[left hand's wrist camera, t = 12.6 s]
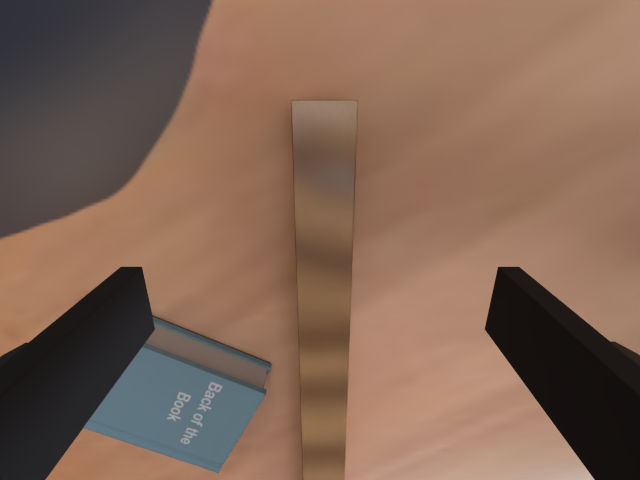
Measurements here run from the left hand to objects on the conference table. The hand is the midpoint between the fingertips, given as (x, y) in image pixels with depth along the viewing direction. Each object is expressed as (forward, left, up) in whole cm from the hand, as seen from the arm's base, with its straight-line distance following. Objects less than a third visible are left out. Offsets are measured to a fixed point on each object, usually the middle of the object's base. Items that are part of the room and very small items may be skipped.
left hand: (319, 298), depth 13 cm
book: (-16, +29, -24) cm, 41 cm away
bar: (-29, +12, -24) cm, 39 cm away
